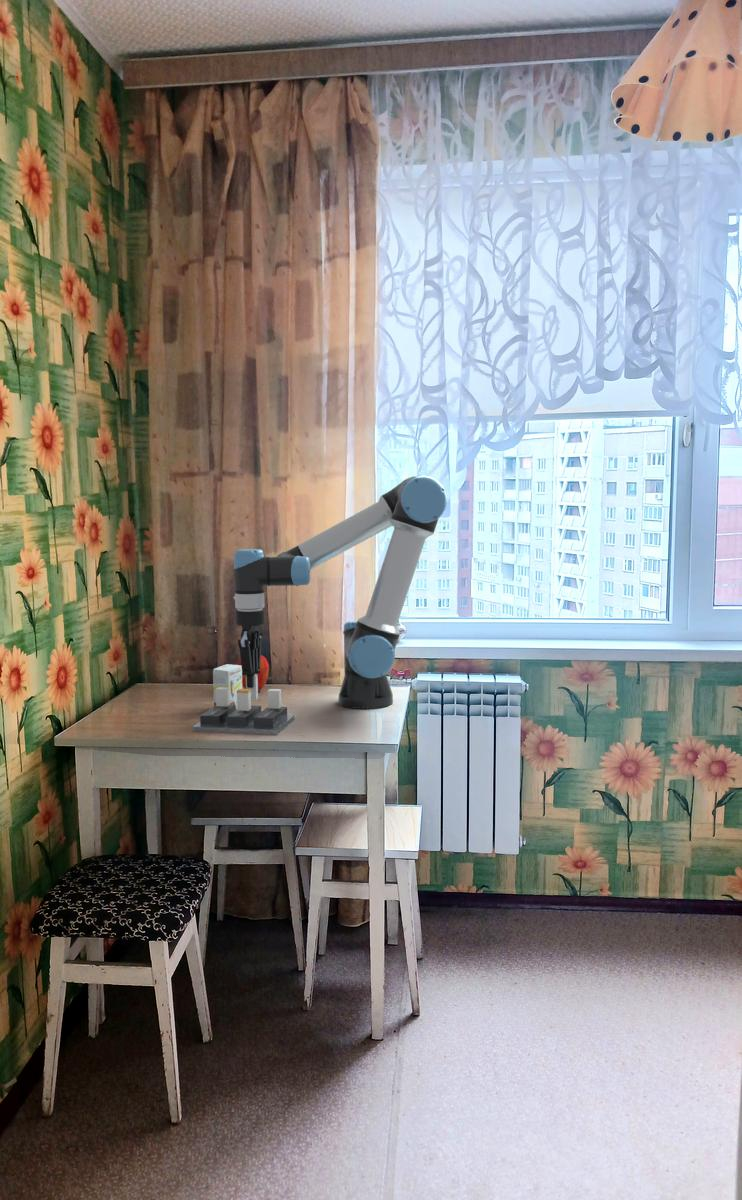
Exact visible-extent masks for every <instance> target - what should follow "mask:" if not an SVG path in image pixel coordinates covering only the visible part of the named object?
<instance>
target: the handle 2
mask: <svg viewBox="0 0 742 1200" xmlns="http://www.w3.org/2000/svg"><path fill="white" fill-rule="evenodd" d="M282 705H283V704H282V689H280V688H269V689H267V707H268V708H280V707H283V706H282Z"/></svg>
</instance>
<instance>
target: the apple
mask: <svg viewBox="0 0 742 1200" xmlns="http://www.w3.org/2000/svg"><path fill="white" fill-rule="evenodd" d="M237 665H241V658H240V659H239V660H238V663H237ZM241 666H242V665H241ZM269 669H270V665H269V662H268V660H267V658H266V657H265V656H263V654H261V664H260V670H258V671H261V673H256V674H257V676H258V692H259V691H261V690H262V689H263V688H264V687H265V685H266V683H267V680H268V677H269ZM242 688H243V689H246V675H242Z"/></svg>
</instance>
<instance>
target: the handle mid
mask: <svg viewBox="0 0 742 1200" xmlns="http://www.w3.org/2000/svg"><path fill="white" fill-rule="evenodd" d="M251 705H252V700H251V689H245V688H242V689H238V690H237V710H243V711H249V710H250V709H251Z"/></svg>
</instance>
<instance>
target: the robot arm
mask: <svg viewBox="0 0 742 1200" xmlns="http://www.w3.org/2000/svg"><path fill="white" fill-rule="evenodd" d="M447 504H448V496H447V492H446V490H445V488H444V486H443V484H441V482H440V481H438V480H437V479H436V478H434V477H431V476H427V475H421V474H420V475H416V476H411V477H407V478H406V479H404V480H403V481H401V482H400V483H398V484H397V485H396V486H395V487H393V488H392V489H391V490H390V489H389V491H387V492H386V493H384V494H381V495H380V496H379V499H378V501H377V502H375V503H373V504H371V505H369V506H368V507H366V508H363V509H362V510H360V511H358V512H357V513H355V514H353V515H351V516H349V517H347V518H345V519H344V520H342V521H340V522H338V523H336V524H335V525H333V526H331V527H329V528H327V529H325V530H323V531H322V532H320V533H318V534H316V535H313V537H311V538H308V539H307V540H305V541H303V542H300V543H299V544H298V545H296V546H294V547H292V548H290V549H288V550H286V551H283V552H281V553H279V554H277V555H276V556H265V554H264V551H263V549H259V548H245V549H244V548H243V549H237V550H236V551H235V552H234V554H233V579H234V580H233V581H234V585H233V586H234V596H233V597H232V598H233V600H234V604H235V605H234V606H235V607H234V608H235V609H236V610H235V612H234V615H235V617H234V618H235V620H234V621H235V624H236V626H240V627H241V633H240V639H237V644H238V649H239V656H240V657H239V658H240V659H241V665H242V675H246V689H251V701H252V700H253V701H254V700H255V701H256V700H258V699H259V691H258V676H257V674H256V673H261V671H258V670H260V664H261V655H262V642H263V636H264V635H263V634H264V633H263V632H261V631H260V627H259V626H262V625H264V624H265V623H266V618H265V617H266V615H265V614H266V613H265V610H264V608H265V587H271V586H276V587H277V586H279V587H280V586H282V587H283V586H288V587H289V586H295V587H298V586H308V585H309V584H310V581H311V570H313V569H314V568H316V567H317V568H318V566H321V564H324V563H326V562H328V561H329V560H331V559H333V558H335V557H337V556H339V555H341V554H343V553H345V552H346V551H348V550H350V549H352V548H353V547H356V546H358V545H359V544H361V543H363V542H365V541H366V540H368V539H371V538H372V537H375V536H376V535H377V534H380V533H381V532H383V531H385V530H387V529H389V528H391V527H393V532H392V535H391V537H390V540H389V542H388V543H389V544H388V547H387V550H386V553H385V555H384V558H383V562H382V564H381V567H380V571H379V573H378V577H377V580H376V582H375V586H374V588H373V591H372V595H371V598H370V601H369V604H368V606H367V609H366V613H365V615H363V616H361V617H359V618H357V621H347V622H345V623H344V625H343V632H342V635H343V650H344V653H343V655H344V656H343V658H344V659H343V660H344V661H343V662H344V675H343V676H344V677H343V680H342V683H341V687H340V689H339V692H338V704H339V705H340V706H342V707H346V708H352V709H378V708H385V707H388V706H391V705H392V704H393V702H394V701H393V700H394V697H393V691H392V688H391V685H390V683H389V679H388V676H387V673H388V672H389V671H390V670H391V669H392V667H393V665H394V663H395V658H396V651H395V650H396V647H397V645H398V644H397V643H398V641H399V637H400V634H401V632H400V630H399V628H398V622H399V619H400V616H401V613H402V610H403V607H404V604H405V601H406V599H407V595H408V593H409V590H410V587H411V584H412V581H413V578H414V575H415V572H416V568H417V566H418V563H419V560H420V557H421V554H422V551H423V548H424V545H425V542H426V539H428V537H431V536H432V535H434V533H435V531H436V527H437V525H438V522H439V519H440V518H441V516H442V515H443V514H444V512H445V510H446V509H447V508H446V507H447Z"/></svg>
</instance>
